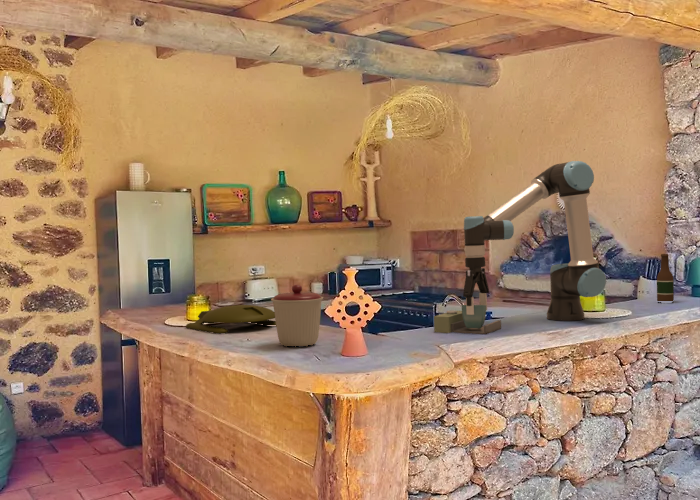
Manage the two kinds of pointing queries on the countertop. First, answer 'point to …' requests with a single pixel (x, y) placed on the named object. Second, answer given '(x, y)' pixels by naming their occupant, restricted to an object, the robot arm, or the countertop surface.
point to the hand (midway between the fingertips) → (477, 312)
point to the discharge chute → (486, 329)
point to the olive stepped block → (446, 321)
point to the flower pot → (474, 316)
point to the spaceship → (232, 317)
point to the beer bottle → (665, 281)
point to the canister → (297, 317)
